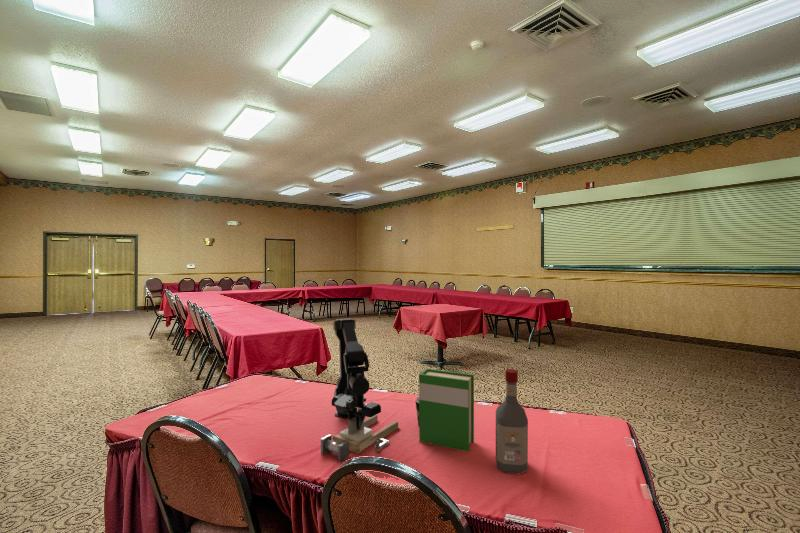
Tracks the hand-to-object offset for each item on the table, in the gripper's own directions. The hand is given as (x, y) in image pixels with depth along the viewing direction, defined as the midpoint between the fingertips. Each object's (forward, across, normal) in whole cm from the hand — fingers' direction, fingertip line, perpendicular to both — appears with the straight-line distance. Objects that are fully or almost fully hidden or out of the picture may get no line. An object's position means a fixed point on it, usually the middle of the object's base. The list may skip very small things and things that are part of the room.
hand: (356, 428), depth 138 cm
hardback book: (+5, +26, +18) cm, 32 cm away
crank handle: (+5, +8, +3) cm, 10 cm away
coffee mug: (+5, +13, +26) cm, 30 cm away
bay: (+5, 0, +6) cm, 8 cm away
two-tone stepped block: (+5, 0, 0) cm, 5 cm away
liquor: (+5, +50, +16) cm, 53 cm away
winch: (+5, 0, -11) cm, 12 cm away
